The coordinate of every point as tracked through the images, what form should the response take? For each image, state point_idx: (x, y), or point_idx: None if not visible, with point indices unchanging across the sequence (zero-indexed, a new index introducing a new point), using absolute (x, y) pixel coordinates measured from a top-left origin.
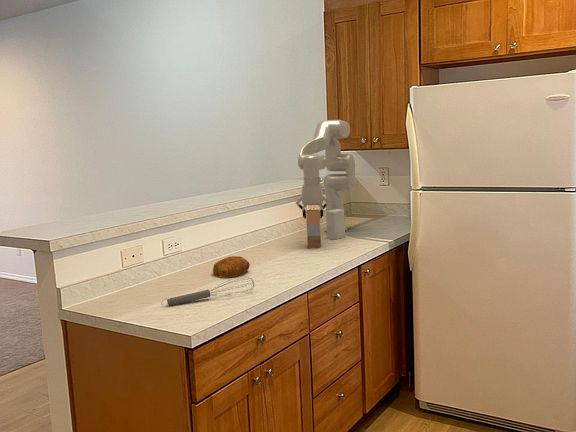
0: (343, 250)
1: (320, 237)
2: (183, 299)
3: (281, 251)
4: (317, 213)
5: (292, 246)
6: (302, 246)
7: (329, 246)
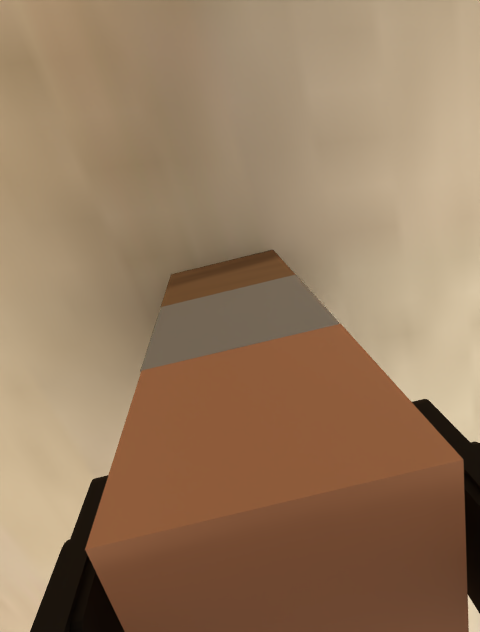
0: (469, 386)
1: (287, 267)
2: None
3: (43, 480)
4: None
5: (39, 315)
6: (126, 303)
7: (352, 273)
